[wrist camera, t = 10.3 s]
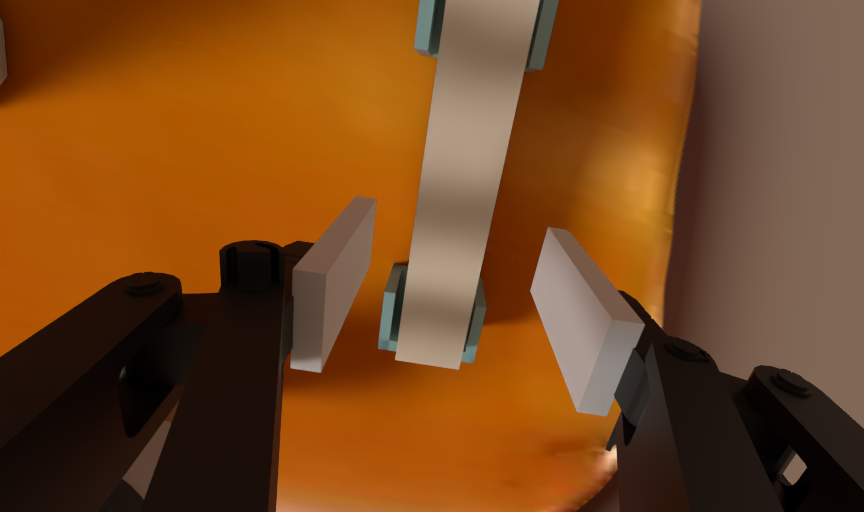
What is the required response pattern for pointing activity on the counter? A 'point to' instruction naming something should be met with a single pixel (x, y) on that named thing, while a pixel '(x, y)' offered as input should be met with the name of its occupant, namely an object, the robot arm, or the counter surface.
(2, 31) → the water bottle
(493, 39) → the slat
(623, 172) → the counter surface
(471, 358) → the end caps
